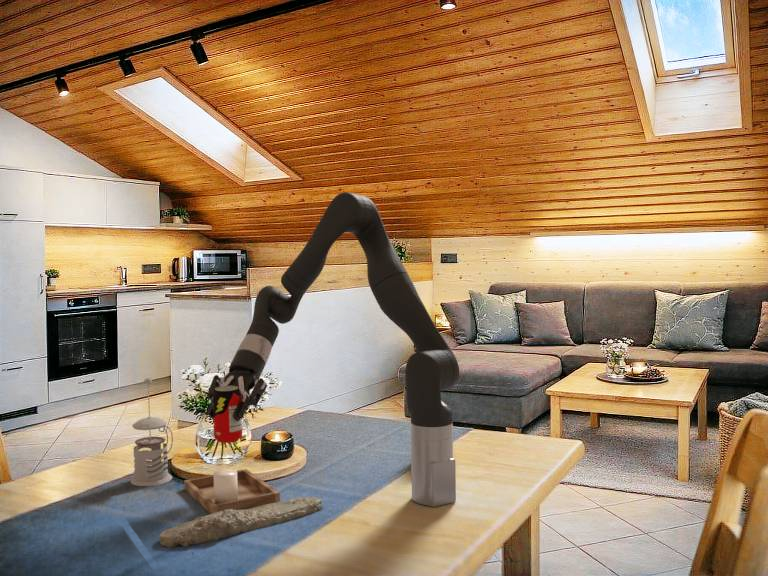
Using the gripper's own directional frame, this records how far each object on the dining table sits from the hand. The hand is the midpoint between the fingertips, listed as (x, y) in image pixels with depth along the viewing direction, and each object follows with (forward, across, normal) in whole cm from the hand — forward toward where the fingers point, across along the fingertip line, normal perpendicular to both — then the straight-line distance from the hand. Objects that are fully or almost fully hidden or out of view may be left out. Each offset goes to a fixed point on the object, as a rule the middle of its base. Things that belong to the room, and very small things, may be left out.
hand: (223, 417), depth 165 cm
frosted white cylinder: (+17, +5, +7) cm, 19 cm away
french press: (+10, -24, +16) cm, 31 cm away
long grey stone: (+23, +15, +4) cm, 28 cm away
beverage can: (+3, 0, +5) cm, 6 cm away
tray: (+14, +2, +12) cm, 18 cm away
